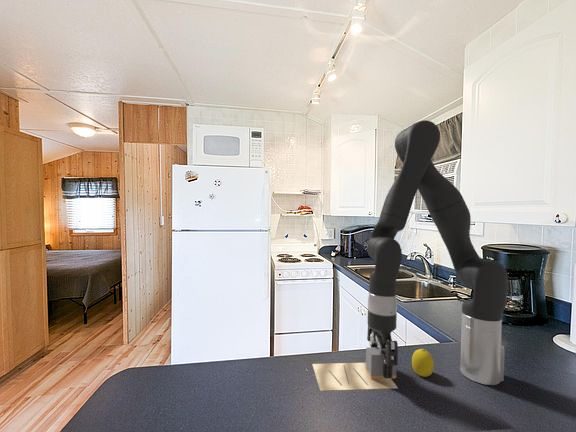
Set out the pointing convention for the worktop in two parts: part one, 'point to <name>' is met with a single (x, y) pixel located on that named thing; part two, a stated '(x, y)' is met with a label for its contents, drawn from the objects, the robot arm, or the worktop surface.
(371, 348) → the block
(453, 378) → the worktop surface
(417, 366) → the lemon
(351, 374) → the board
